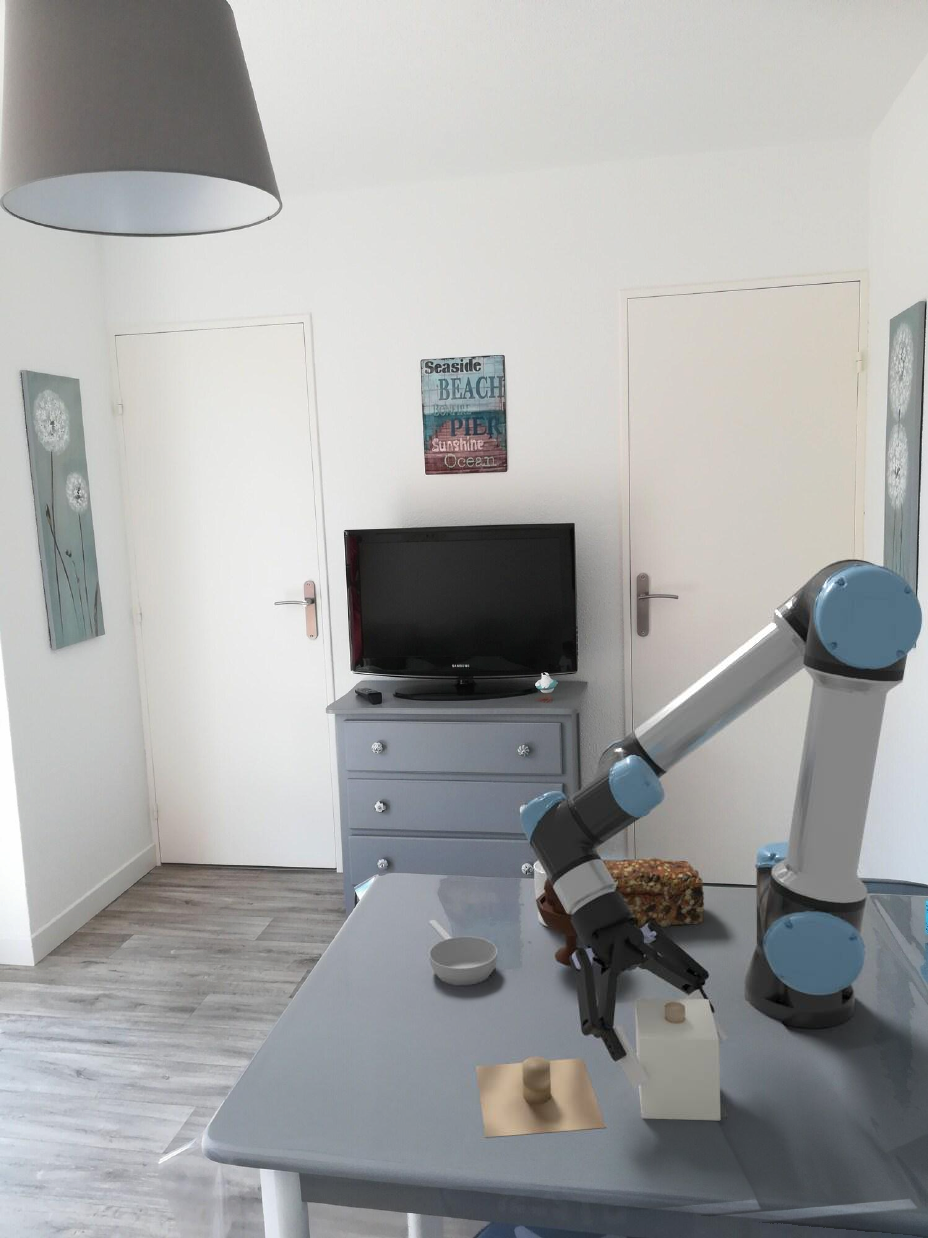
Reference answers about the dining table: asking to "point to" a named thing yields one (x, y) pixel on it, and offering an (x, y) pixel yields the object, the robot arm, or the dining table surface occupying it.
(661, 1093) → the knobbed white box
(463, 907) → the dining table surface
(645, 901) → the bread
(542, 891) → the white cup
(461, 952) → the saucepan
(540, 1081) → the cork
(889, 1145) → the dining table surface
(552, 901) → the ice cream bowl
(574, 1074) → the board
